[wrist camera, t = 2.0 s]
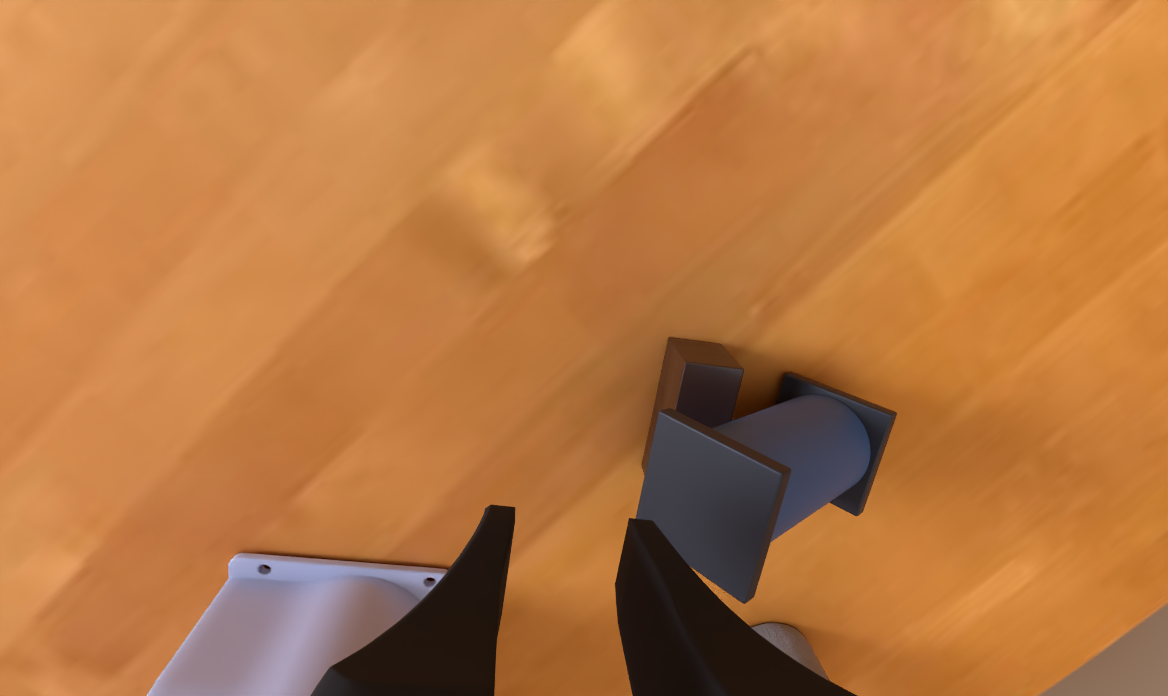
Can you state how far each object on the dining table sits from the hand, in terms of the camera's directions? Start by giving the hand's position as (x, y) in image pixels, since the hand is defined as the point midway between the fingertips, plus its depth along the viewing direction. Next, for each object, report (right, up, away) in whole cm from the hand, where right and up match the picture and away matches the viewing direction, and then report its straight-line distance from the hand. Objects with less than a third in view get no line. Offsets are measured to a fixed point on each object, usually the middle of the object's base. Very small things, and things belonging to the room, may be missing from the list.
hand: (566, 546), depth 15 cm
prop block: (+5, +2, +10) cm, 12 cm away
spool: (+7, +1, +6) cm, 10 cm away
